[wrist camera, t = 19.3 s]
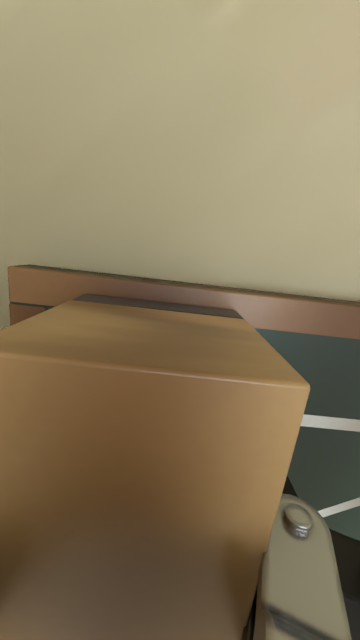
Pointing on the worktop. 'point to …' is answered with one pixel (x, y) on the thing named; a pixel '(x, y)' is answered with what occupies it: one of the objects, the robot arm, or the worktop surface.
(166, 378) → the eraser
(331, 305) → the chalkboard
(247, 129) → the worktop surface
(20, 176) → the worktop surface
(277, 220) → the worktop surface
